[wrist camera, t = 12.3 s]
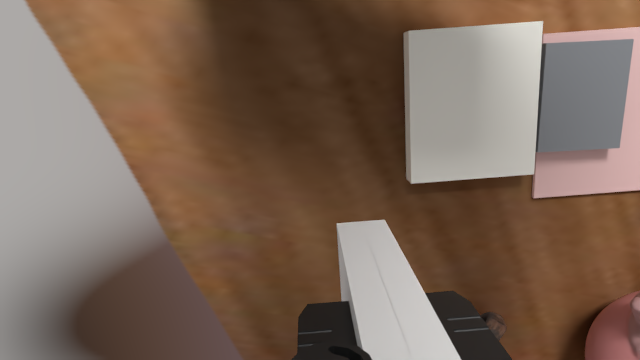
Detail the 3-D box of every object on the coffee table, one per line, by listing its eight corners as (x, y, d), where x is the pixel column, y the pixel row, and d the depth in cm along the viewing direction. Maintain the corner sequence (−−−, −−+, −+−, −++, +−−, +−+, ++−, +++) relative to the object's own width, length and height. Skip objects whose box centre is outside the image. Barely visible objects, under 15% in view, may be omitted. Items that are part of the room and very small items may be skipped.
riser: (403, 33, 38) (408, 30, 37) (531, 23, 39) (543, 21, 37) (406, 178, 42) (411, 183, 40) (523, 169, 42) (534, 174, 40)
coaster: (537, 44, 39) (546, 43, 37) (621, 40, 39) (633, 38, 37) (529, 149, 41) (537, 152, 40) (608, 145, 41) (619, 148, 40)
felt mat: (541, 34, 39) (543, 33, 38) (666, 25, 39) (670, 24, 39) (531, 197, 43) (533, 198, 42) (645, 188, 43) (649, 189, 43)
